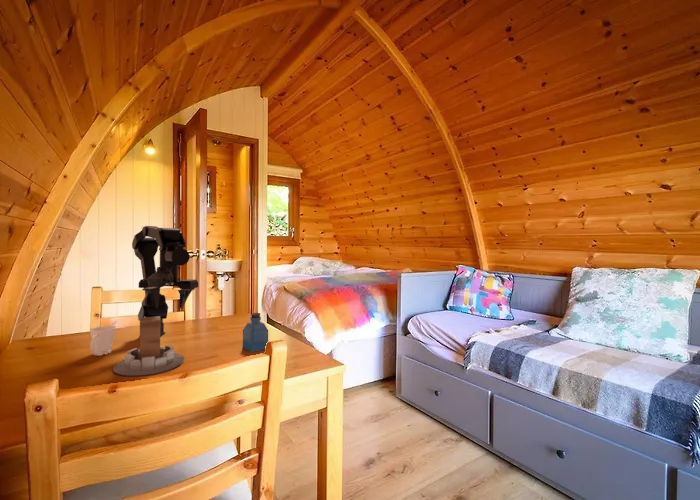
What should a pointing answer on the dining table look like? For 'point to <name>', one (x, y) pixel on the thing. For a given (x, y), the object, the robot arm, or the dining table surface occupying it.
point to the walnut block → (150, 337)
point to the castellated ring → (148, 363)
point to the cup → (102, 339)
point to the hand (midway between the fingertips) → (168, 308)
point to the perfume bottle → (255, 334)
